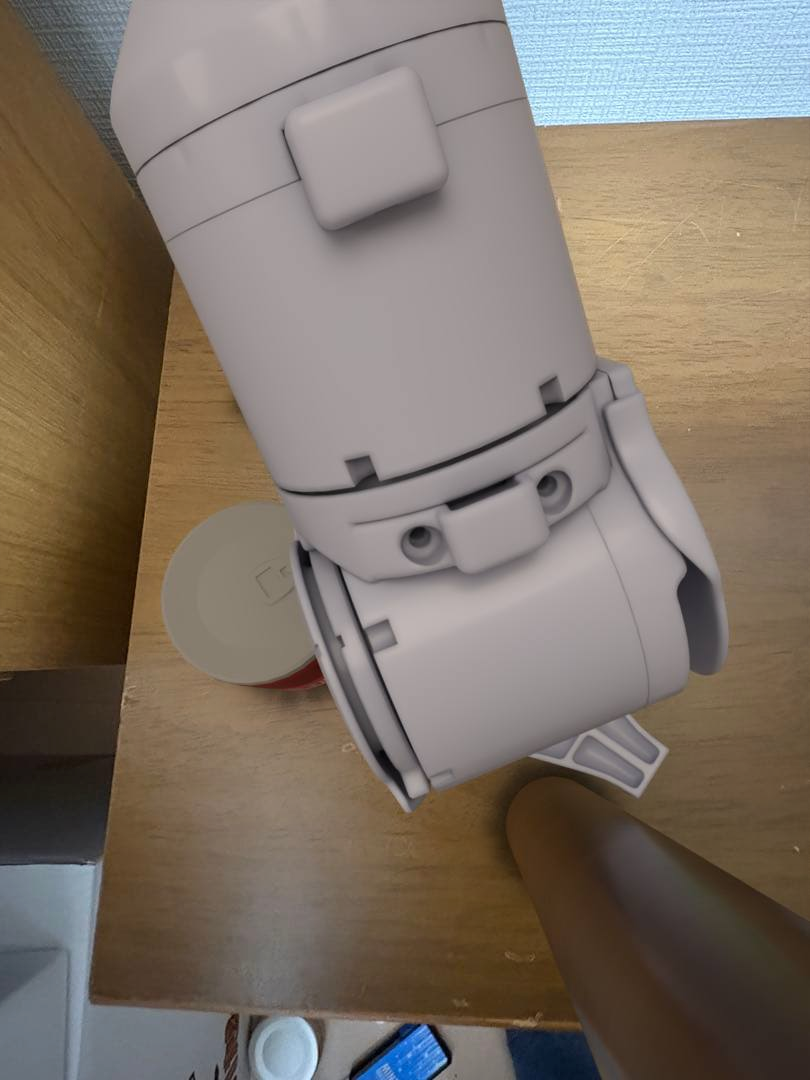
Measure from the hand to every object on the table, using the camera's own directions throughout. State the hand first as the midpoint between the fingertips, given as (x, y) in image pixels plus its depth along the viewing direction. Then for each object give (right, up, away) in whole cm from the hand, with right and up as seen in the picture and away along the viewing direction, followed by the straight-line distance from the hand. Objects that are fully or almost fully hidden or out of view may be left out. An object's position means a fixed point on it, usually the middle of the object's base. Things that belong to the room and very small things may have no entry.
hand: (471, 664), depth 37 cm
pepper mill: (+5, -9, +3) cm, 10 cm away
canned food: (-9, +1, +7) cm, 11 cm away
